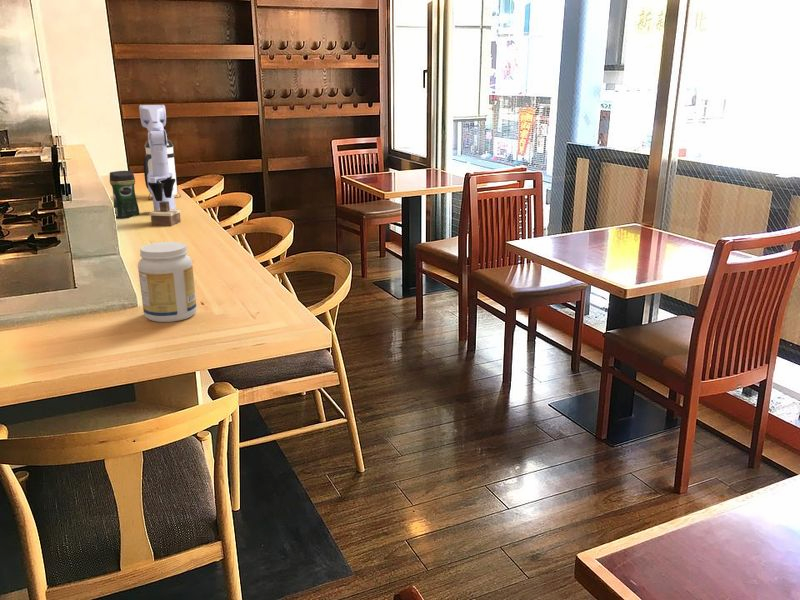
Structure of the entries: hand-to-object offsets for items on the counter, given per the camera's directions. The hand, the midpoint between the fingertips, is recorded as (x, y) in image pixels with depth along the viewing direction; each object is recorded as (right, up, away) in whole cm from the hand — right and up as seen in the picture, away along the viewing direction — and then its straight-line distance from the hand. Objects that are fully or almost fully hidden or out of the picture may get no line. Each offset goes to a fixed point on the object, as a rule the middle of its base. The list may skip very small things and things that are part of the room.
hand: (163, 199), depth 259 cm
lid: (0, -5, +2) cm, 6 cm away
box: (0, -9, +3) cm, 10 cm away
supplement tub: (+35, -42, -96) cm, 111 cm away
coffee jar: (-22, -4, +19) cm, 30 cm away
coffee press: (-21, +9, +61) cm, 65 cm away
